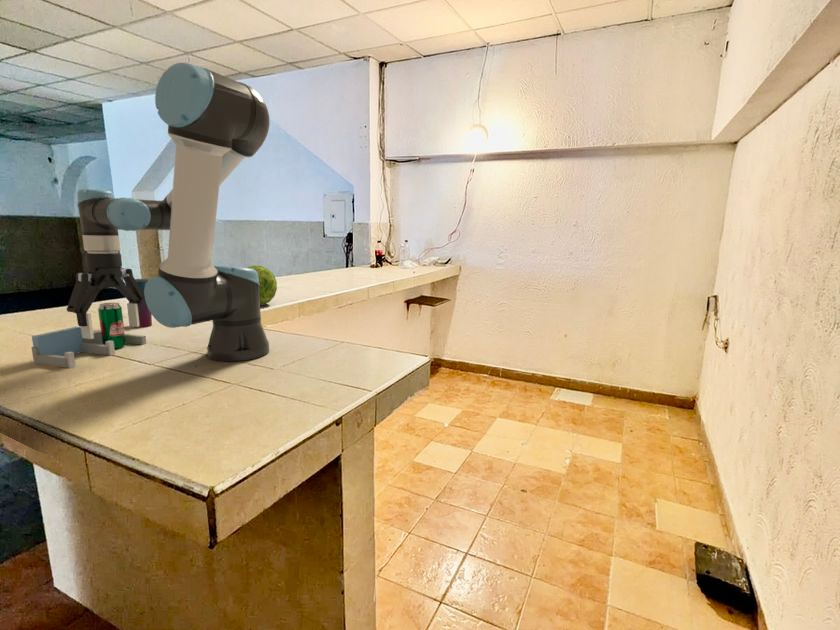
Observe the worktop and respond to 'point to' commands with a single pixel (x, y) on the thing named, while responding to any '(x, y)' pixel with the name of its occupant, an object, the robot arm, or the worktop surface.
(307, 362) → the worktop surface
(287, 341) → the worktop surface
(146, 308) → the cup
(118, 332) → the soda can
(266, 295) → the green watermelon
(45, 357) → the three-post can rack
